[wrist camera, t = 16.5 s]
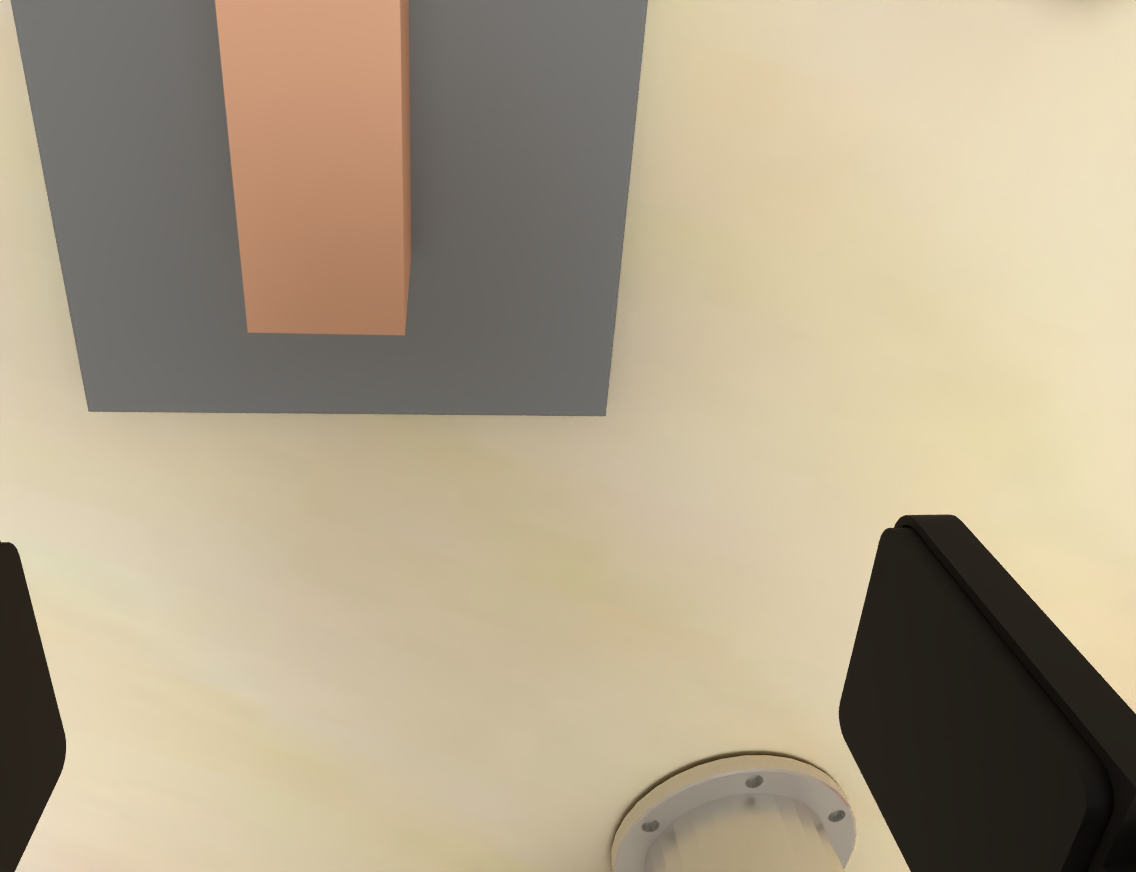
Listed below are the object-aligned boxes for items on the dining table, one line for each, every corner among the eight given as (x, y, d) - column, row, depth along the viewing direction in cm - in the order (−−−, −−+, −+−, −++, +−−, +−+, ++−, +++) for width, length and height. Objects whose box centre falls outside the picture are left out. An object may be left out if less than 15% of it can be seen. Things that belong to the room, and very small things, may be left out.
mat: (601, 404, 35) (605, 415, 35) (97, 398, 33) (88, 411, 32) (673, -330, 25) (682, -340, 24) (-52, -420, 23) (-72, -433, 22)
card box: (408, -94, 26) (398, -99, 20) (411, 254, 31) (404, 335, 25) (259, -106, 26) (203, -116, 19) (286, 250, 30) (247, 332, 24)
